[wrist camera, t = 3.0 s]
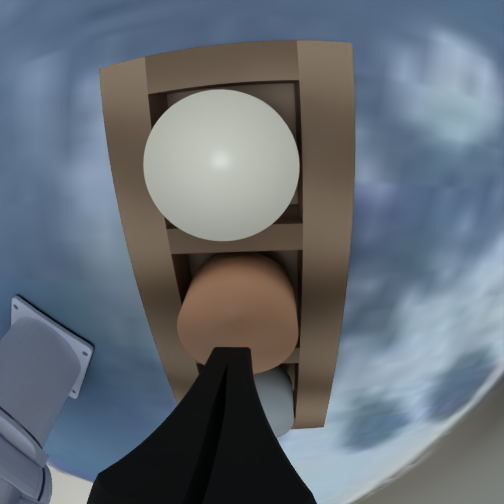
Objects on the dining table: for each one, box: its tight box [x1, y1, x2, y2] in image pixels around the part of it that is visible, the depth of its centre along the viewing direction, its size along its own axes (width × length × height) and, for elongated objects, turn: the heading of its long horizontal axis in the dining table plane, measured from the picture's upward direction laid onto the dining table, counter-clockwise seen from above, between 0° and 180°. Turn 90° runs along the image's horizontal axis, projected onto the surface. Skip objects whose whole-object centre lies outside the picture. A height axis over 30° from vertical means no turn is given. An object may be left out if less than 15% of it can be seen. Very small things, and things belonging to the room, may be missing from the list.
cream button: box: [143, 89, 300, 241], centre depth 11 cm, size 5×5×3 cm
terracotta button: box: [177, 251, 298, 374], centre depth 14 cm, size 5×5×3 cm
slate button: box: [253, 366, 294, 438], centre depth 18 cm, size 5×5×3 cm
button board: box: [99, 41, 355, 429], centre depth 16 cm, size 23×10×3 cm, turn 4°
